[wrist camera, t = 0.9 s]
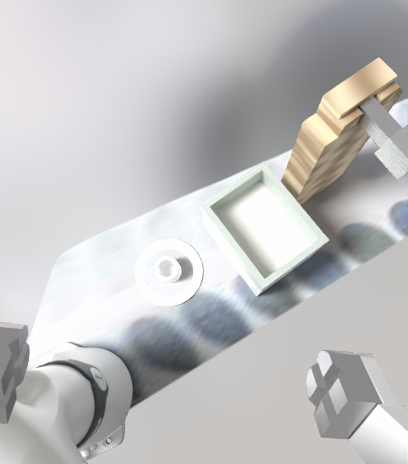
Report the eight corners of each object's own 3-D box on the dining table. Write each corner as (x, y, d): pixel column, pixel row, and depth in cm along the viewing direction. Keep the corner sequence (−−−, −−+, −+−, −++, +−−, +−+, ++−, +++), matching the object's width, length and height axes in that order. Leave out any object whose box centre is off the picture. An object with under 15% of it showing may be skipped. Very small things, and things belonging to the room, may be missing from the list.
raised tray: (256, 296, 67) (263, 288, 54) (204, 226, 70) (200, 205, 58) (311, 256, 68) (329, 240, 56) (257, 190, 71) (263, 161, 59)
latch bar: (397, 180, 44) (415, 166, 40) (335, 109, 46) (346, 90, 42) (423, 160, 44) (444, 145, 40) (361, 91, 46) (374, 70, 42)
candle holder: (152, 317, 67) (147, 317, 63) (126, 257, 70) (119, 252, 66) (213, 288, 68) (213, 285, 64) (185, 229, 71) (183, 222, 67)
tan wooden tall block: (289, 212, 70) (333, 131, 41) (276, 196, 71) (309, 105, 42) (341, 176, 71) (417, 72, 43) (326, 160, 72) (392, 48, 44)
